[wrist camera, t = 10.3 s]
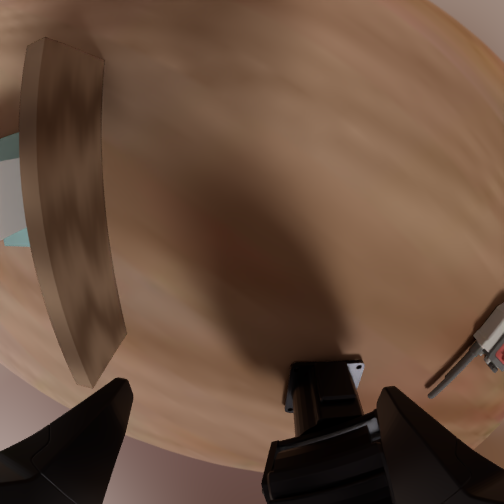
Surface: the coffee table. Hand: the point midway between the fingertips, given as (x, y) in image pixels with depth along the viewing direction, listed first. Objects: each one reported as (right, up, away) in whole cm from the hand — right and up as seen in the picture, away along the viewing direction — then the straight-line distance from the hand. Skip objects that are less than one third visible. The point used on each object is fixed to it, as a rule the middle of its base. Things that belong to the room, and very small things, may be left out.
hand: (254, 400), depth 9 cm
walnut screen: (-11, +8, +10) cm, 17 cm away
